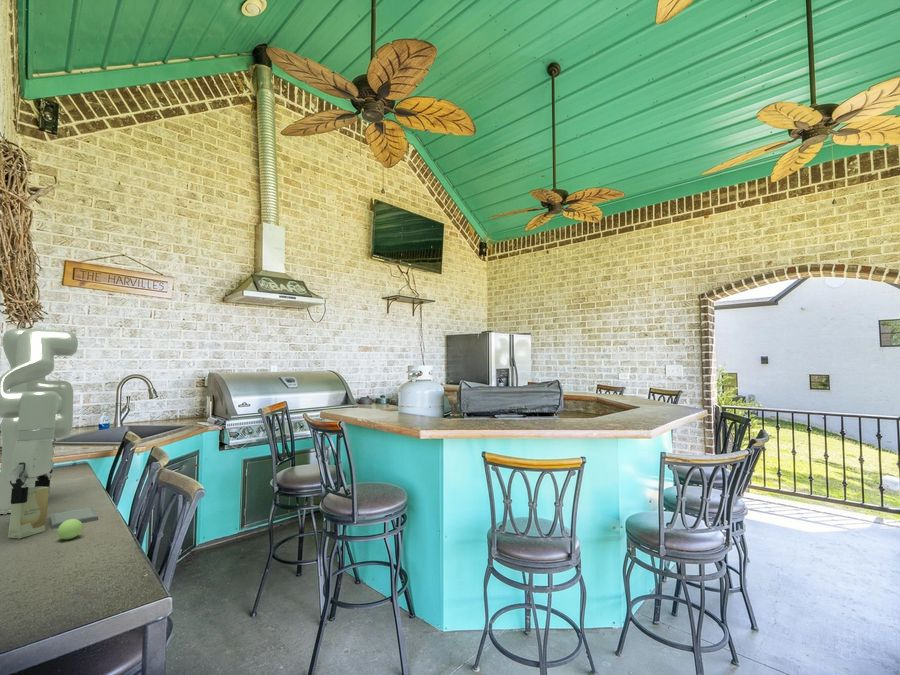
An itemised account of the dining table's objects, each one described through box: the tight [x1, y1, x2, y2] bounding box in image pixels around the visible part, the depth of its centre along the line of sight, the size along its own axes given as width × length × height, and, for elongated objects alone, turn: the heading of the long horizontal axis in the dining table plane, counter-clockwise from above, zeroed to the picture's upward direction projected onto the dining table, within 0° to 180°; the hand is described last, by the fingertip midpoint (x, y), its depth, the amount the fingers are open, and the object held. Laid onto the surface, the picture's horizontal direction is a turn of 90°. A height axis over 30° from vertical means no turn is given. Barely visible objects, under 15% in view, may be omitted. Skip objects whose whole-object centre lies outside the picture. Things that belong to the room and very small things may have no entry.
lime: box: [56, 519, 84, 541], centre depth 111 cm, size 5×5×5 cm
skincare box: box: [7, 486, 50, 539], centre depth 115 cm, size 6×4×12 cm
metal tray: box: [49, 506, 99, 529], centre depth 128 cm, size 14×10×1 cm
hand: (30, 498), depth 115 cm, fingers open, 9 cm apart
